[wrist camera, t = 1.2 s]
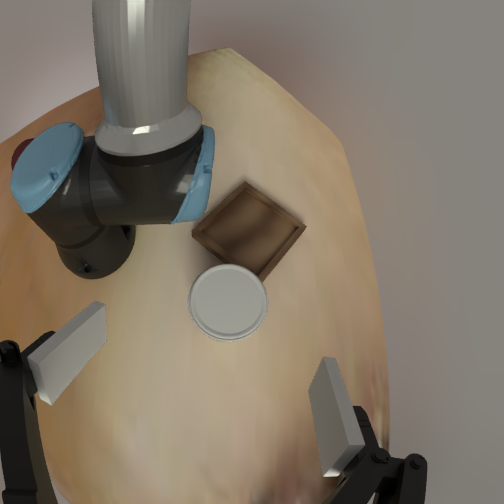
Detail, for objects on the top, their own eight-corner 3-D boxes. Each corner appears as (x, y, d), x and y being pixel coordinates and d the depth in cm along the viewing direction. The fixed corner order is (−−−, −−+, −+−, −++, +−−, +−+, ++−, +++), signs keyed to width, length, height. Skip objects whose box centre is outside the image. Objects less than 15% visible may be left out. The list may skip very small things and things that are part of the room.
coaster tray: (192, 236, 47) (191, 231, 45) (243, 187, 52) (245, 181, 50) (256, 288, 44) (258, 285, 43) (303, 231, 50) (306, 226, 48)
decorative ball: (41, 153, 50) (26, 126, 40) (63, 162, 49) (48, 132, 40) (17, 184, 45) (-2, 159, 36) (37, 196, 45) (16, 169, 36)
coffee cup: (266, 324, 42) (285, 309, 31) (217, 359, 39) (219, 357, 28) (231, 278, 45) (237, 247, 34) (182, 309, 41) (171, 289, 31)
